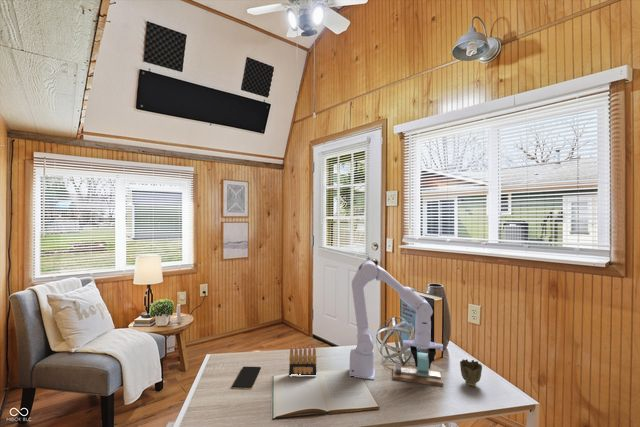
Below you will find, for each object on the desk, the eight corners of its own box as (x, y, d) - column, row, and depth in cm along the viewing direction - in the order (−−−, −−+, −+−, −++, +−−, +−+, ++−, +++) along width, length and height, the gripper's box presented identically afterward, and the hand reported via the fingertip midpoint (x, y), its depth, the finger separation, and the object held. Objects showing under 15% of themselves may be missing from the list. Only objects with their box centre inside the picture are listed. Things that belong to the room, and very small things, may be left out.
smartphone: (231, 386, 112) (243, 366, 127) (231, 389, 112) (243, 368, 127) (251, 387, 112) (261, 366, 127) (251, 390, 112) (261, 369, 127)
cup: (460, 388, 114) (460, 366, 114) (459, 378, 121) (459, 357, 121) (483, 392, 111) (483, 370, 111) (480, 382, 118) (480, 360, 118)
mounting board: (393, 379, 120) (393, 376, 120) (393, 368, 128) (393, 365, 128) (443, 386, 115) (443, 382, 115) (440, 374, 124) (440, 371, 124)
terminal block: (417, 376, 118) (417, 360, 118) (416, 367, 124) (416, 352, 124) (428, 377, 117) (429, 361, 117) (427, 368, 123) (427, 353, 123)
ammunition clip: (288, 377, 121) (289, 346, 121) (289, 374, 122) (289, 344, 122) (316, 377, 121) (316, 346, 121) (316, 374, 123) (316, 344, 123)
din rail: (394, 373, 121) (394, 369, 121) (394, 367, 126) (394, 363, 126) (441, 379, 117) (441, 375, 117) (439, 373, 122) (439, 368, 122)
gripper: (403, 333, 119) (403, 369, 119) (444, 337, 116) (443, 374, 116) (403, 327, 126) (403, 360, 126) (441, 330, 122) (441, 365, 122)
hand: (422, 366), depth 121 cm, fingers closed on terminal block, 4 cm apart
